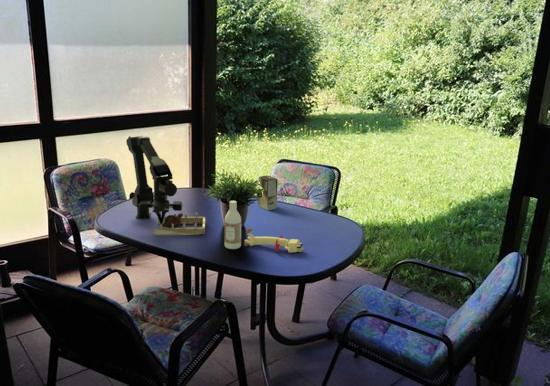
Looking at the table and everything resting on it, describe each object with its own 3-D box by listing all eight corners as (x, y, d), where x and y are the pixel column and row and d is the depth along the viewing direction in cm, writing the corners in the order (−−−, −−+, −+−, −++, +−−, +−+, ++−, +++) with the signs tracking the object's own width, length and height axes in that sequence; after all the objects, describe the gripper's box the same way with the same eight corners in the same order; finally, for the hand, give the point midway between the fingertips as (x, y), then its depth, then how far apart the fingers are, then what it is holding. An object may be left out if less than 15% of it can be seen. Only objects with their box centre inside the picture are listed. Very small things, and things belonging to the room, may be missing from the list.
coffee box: (277, 208, 255) (278, 179, 251) (267, 210, 252) (268, 180, 247) (267, 203, 262) (267, 175, 258) (257, 205, 259) (257, 176, 254)
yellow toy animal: (242, 251, 206) (300, 256, 199) (241, 231, 204) (299, 235, 196) (251, 242, 215) (306, 246, 208) (249, 224, 213) (305, 227, 205)
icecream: (170, 222, 214) (189, 215, 227) (157, 215, 216) (176, 208, 230) (167, 236, 216) (185, 228, 229) (153, 229, 218) (173, 221, 232)
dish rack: (158, 223, 230) (157, 213, 229) (205, 222, 233) (205, 212, 231) (154, 235, 216) (154, 224, 214) (204, 234, 219) (204, 224, 217)
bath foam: (221, 248, 205) (221, 203, 199) (228, 242, 211) (228, 198, 205) (237, 250, 203) (237, 205, 197) (243, 244, 209) (243, 200, 203)
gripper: (136, 195, 209) (137, 230, 213) (180, 196, 211) (180, 230, 215) (140, 188, 219) (141, 221, 224) (182, 189, 222) (182, 221, 226)
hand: (161, 223), depth 222 cm, fingers closed
